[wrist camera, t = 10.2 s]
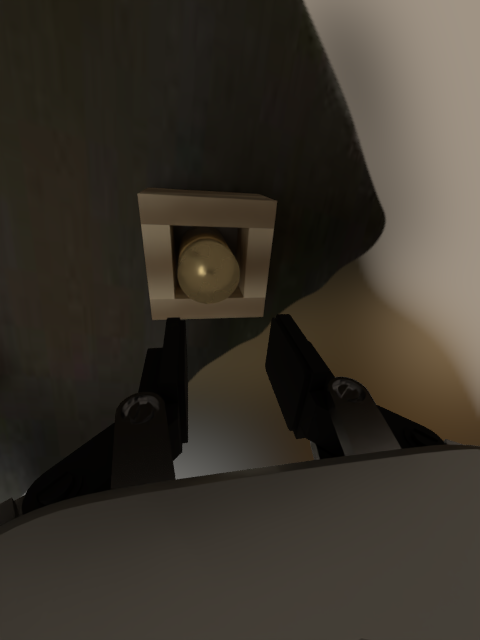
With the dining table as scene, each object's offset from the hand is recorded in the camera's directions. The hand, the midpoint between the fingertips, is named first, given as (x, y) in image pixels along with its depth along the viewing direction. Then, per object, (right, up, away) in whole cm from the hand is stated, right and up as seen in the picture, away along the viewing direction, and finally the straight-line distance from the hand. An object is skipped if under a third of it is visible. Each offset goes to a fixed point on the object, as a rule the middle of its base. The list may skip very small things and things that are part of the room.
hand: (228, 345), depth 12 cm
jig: (-3, +9, +15) cm, 17 cm away
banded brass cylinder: (-3, +8, +14) cm, 16 cm away
